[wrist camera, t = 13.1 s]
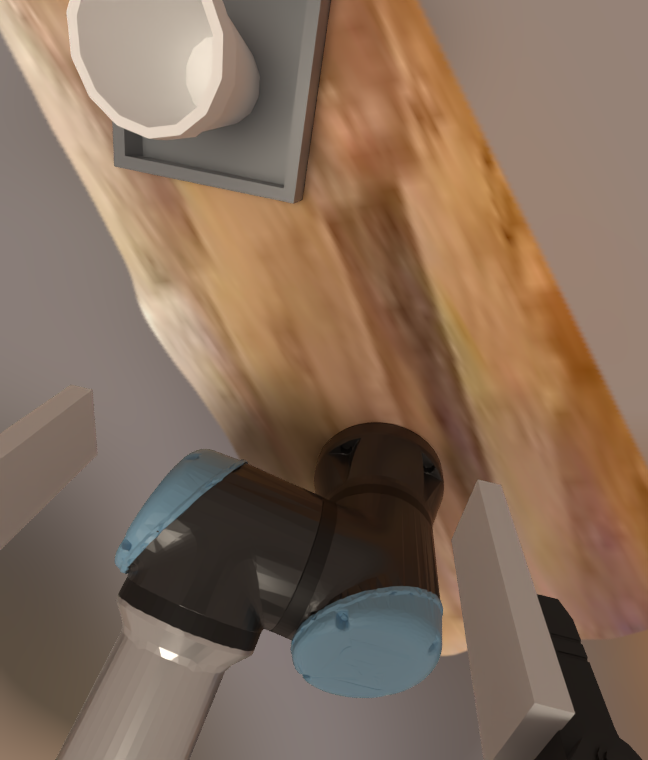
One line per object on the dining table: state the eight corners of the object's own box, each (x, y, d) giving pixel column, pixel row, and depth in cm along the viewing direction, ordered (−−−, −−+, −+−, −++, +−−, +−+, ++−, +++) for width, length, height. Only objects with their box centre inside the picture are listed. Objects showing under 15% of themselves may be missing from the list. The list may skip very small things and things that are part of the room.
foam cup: (159, 118, 39) (60, 101, 27) (181, -10, 35) (73, -96, 23) (260, 161, 39) (203, 162, 28) (293, 39, 35) (243, -20, 23)
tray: (302, 199, 41) (293, 203, 38) (138, 165, 42) (114, 166, 38) (334, -23, 34) (326, -45, 30) (134, -59, 34) (103, -84, 31)
